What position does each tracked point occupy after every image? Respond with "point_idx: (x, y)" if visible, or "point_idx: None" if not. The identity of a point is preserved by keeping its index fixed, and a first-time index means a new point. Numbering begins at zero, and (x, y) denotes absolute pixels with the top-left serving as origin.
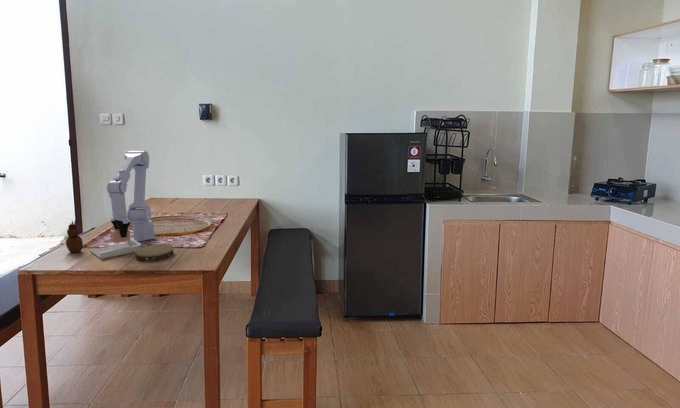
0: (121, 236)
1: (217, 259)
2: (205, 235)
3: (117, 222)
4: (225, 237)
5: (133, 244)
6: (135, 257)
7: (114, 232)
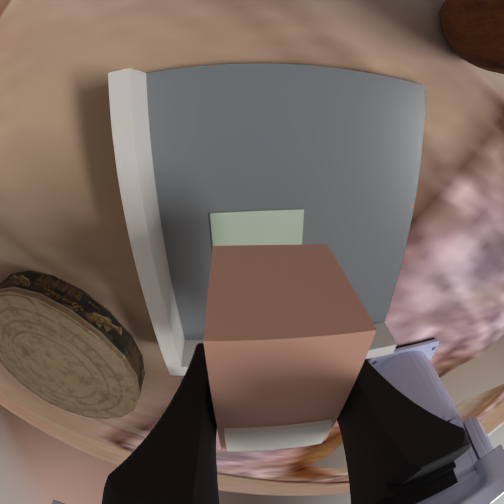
0: (194, 353)
1: (4, 405)
2: (246, 472)
3: (376, 474)
4: None
5: None
6: (41, 277)
7: (207, 352)
